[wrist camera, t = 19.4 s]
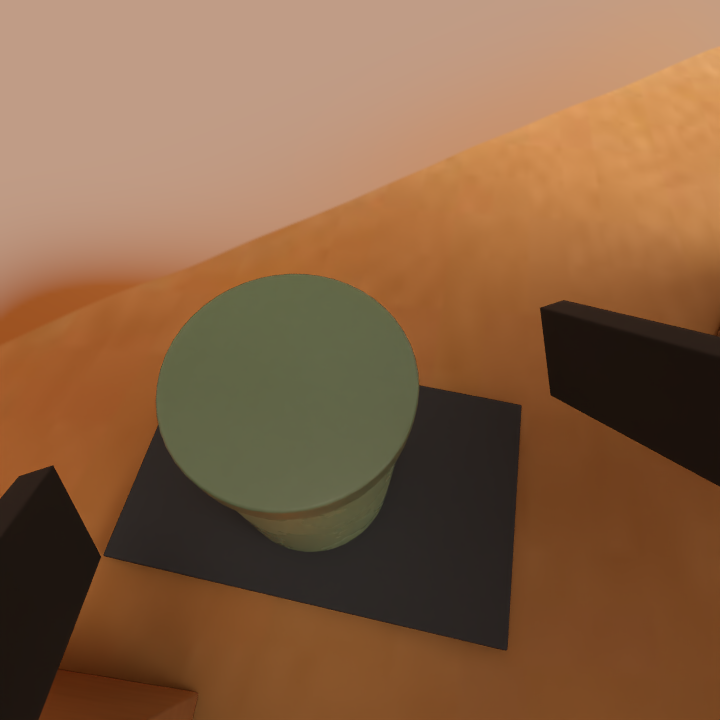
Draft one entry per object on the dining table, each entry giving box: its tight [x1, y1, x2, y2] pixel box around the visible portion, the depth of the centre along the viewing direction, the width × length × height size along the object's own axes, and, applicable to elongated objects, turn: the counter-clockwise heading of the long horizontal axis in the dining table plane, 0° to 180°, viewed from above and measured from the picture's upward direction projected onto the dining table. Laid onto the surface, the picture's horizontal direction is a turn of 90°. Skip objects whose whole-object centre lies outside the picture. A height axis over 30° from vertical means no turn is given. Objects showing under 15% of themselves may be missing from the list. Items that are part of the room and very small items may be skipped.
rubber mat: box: [104, 385, 521, 651], centre depth 21 cm, size 16×10×1 cm, turn 78°
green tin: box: [156, 274, 419, 552], centre depth 17 cm, size 7×7×10 cm
